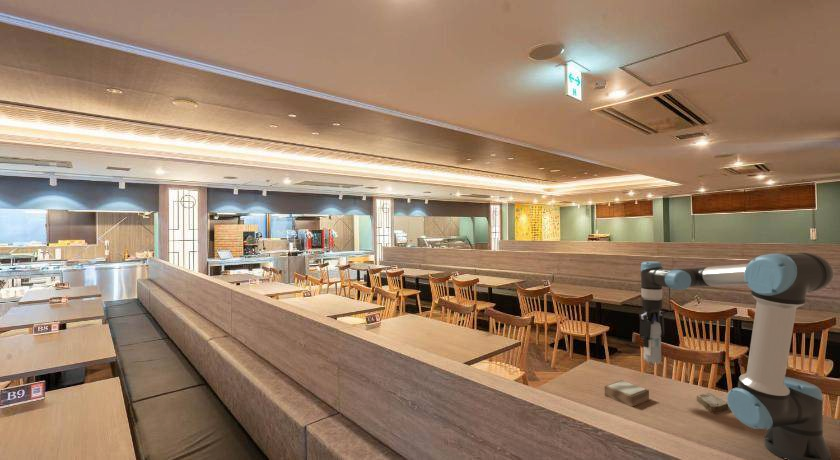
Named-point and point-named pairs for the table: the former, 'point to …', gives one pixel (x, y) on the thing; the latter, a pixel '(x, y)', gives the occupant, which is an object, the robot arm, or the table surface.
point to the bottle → (654, 344)
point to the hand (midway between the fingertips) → (652, 353)
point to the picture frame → (627, 393)
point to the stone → (712, 403)
